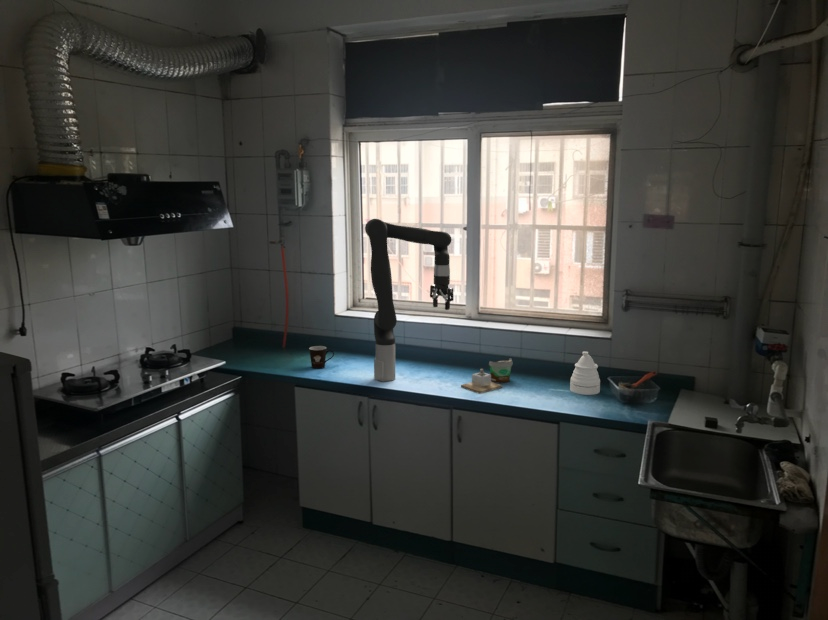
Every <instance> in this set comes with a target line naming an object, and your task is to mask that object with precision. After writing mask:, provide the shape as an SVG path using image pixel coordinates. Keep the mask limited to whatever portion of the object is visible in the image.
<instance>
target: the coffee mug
mask: <svg viewBox="0 0 828 620" xmlns="http://www.w3.org/2000/svg"><path fill="white" fill-rule="evenodd" d="M308 350H309V356H310V364H311V368H312V370H322V369H325V366H326V363H327V362H328V361H329V360H331V359H332V358H333V357H334V355H335V352H334V351H333V350H331V349H329V350H327V347H326V346H323V345H315V346H310V347H309V348H308ZM329 352H331V353H332V356H330V357H329V358H328V359H326V355H327V354H328V353H329Z"/></svg>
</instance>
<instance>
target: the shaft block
mask: <svg viewBox="0 0 828 620" xmlns="http://www.w3.org/2000/svg"><path fill="white" fill-rule="evenodd" d="M478 373H479V375H480V376H484V373H485V371H484V368H480V369H479V372H478ZM460 387H461V388H462V389H466V390H469V391H472V392H474V393H477V394H483V393H487V392H490V391H494V390H498V389H501V388H503V385H502V384H500V383H495V382H491V385H490V386H487V387H483V388H480V387H477V386H474V385H472V381H471V382H468V383H463V384H461V385H460Z"/></svg>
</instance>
